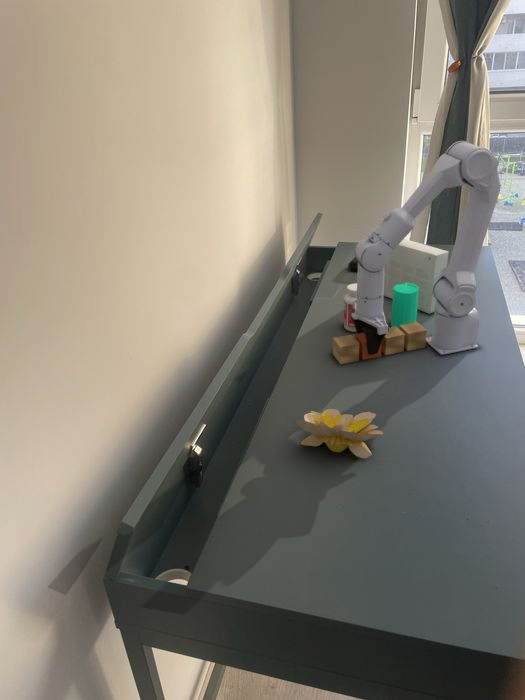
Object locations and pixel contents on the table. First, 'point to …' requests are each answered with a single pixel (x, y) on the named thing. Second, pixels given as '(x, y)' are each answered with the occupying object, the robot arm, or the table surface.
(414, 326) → the block
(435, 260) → the skincare box
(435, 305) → the robot arm
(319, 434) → the decorative flower
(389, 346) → the block
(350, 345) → the block
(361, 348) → the orange block
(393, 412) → the table surface
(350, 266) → the carrying case
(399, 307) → the candle
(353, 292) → the pill bottle
